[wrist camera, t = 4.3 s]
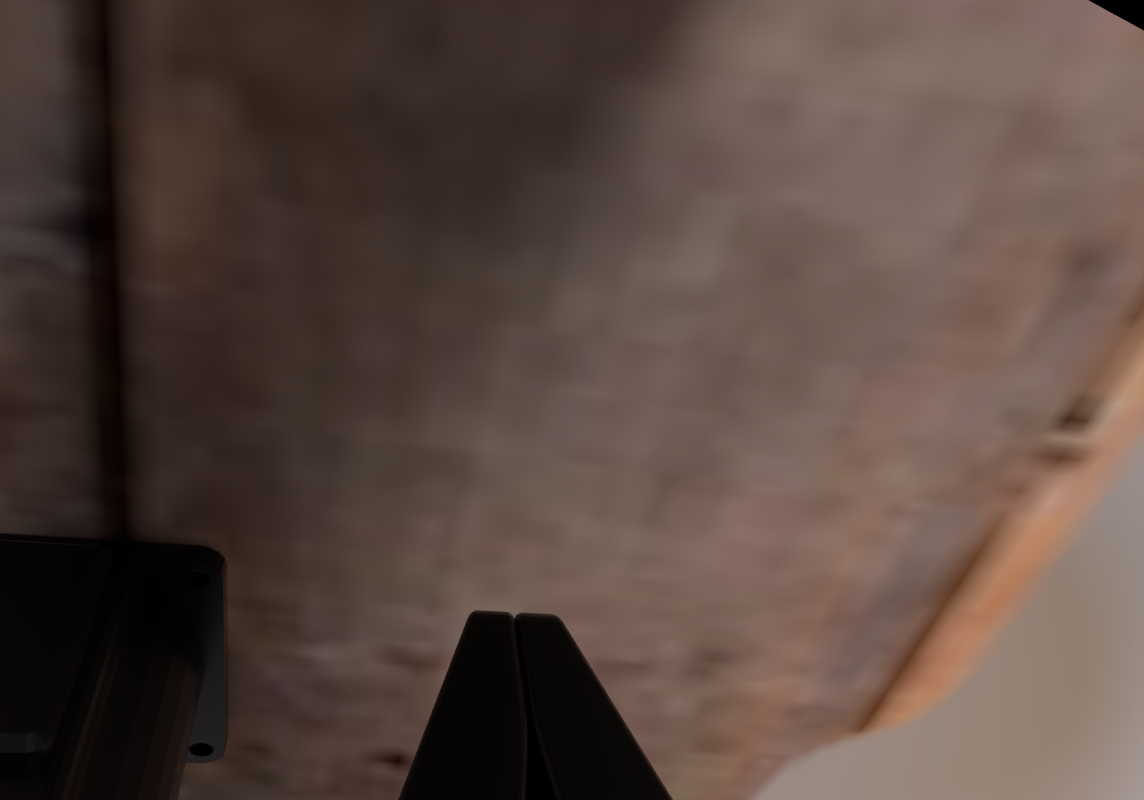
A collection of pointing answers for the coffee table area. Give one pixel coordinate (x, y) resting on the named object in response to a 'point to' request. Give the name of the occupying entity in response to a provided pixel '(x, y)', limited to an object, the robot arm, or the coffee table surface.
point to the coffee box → (1125, 10)
